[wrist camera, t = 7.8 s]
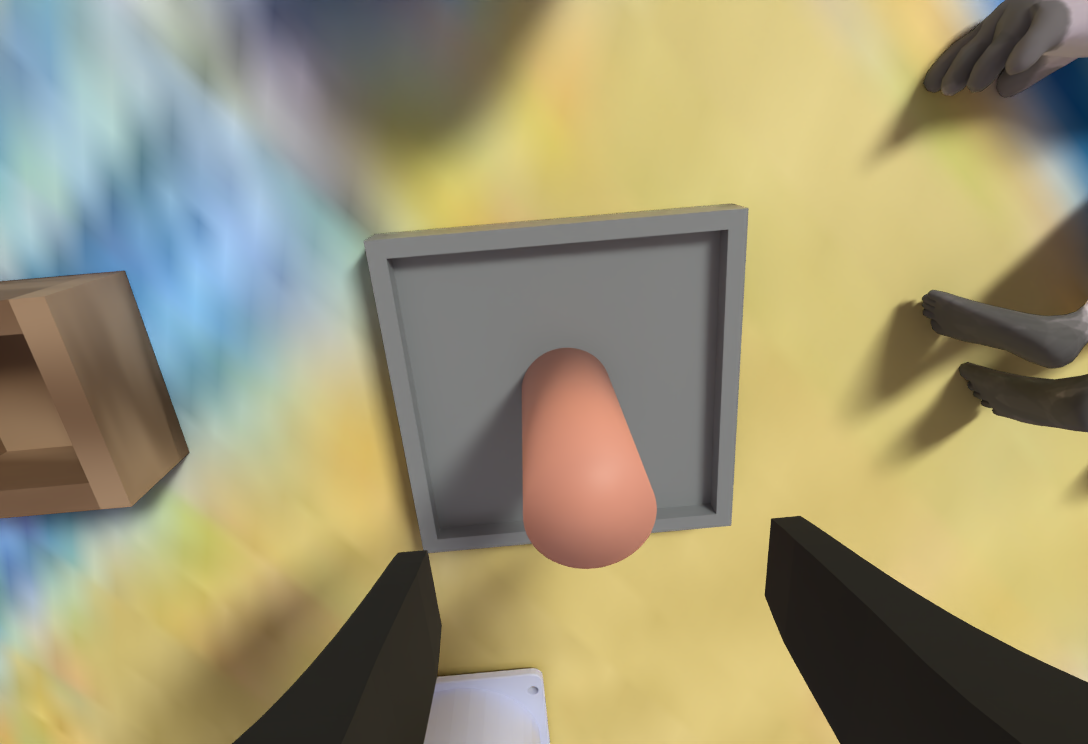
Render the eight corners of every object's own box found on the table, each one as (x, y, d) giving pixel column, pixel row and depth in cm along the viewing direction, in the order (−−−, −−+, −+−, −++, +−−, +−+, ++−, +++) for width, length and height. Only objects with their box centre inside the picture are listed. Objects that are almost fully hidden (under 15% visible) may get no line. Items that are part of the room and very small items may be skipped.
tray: (718, 502, 24) (731, 525, 22) (429, 529, 23) (424, 553, 22) (731, 203, 19) (748, 208, 18) (374, 233, 19) (363, 241, 18)
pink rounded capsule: (611, 425, 21) (657, 562, 14) (525, 432, 21) (529, 574, 14) (608, 343, 20) (656, 450, 13) (517, 351, 20) (516, 462, 13)
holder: (189, 452, 22) (131, 506, 18) (5, 468, 22) (-86, 526, 18) (124, 270, 19) (44, 296, 16) (-86, 288, 19) (-210, 318, 16)
